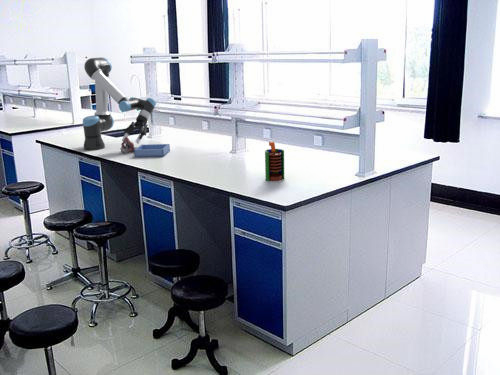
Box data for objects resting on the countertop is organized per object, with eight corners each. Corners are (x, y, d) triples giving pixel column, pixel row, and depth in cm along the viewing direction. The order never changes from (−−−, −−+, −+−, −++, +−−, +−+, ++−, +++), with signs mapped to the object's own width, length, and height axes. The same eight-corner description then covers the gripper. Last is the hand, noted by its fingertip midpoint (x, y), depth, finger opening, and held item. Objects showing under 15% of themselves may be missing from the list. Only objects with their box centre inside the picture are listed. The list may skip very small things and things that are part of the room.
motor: (272, 182, 268) (271, 145, 263) (261, 179, 275) (260, 142, 270) (286, 178, 274) (286, 142, 268) (276, 175, 281) (275, 140, 275)
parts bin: (134, 157, 342) (133, 149, 340) (142, 151, 359) (141, 144, 357) (163, 156, 340) (163, 149, 338) (170, 151, 357) (169, 144, 356)
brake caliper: (114, 150, 354) (120, 135, 358) (124, 157, 363) (130, 142, 367) (127, 151, 349) (133, 136, 352) (136, 158, 358) (142, 143, 361)
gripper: (158, 121, 360) (145, 146, 353) (133, 119, 374) (121, 143, 366) (152, 115, 355) (139, 140, 347) (127, 113, 368) (114, 137, 361)
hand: (129, 142), depth 357 cm, fingers open, 13 cm apart
